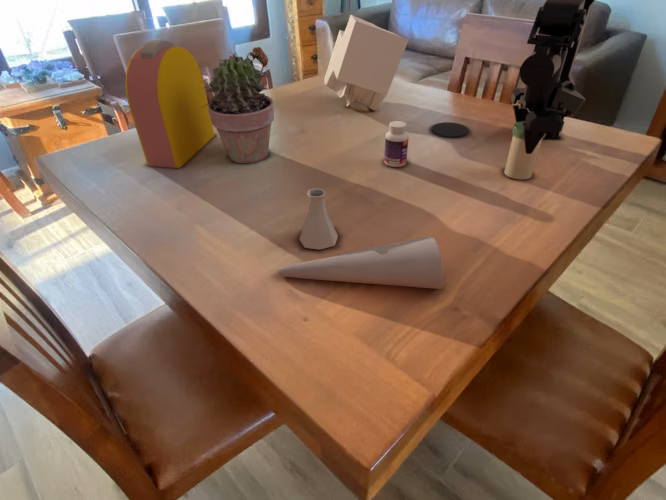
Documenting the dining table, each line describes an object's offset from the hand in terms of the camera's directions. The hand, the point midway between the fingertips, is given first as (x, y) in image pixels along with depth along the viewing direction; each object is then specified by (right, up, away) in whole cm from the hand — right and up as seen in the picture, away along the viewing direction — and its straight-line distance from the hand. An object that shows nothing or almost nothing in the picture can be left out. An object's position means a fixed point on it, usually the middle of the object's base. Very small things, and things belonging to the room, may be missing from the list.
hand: (525, 147), depth 94 cm
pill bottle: (-27, -2, +10) cm, 29 cm away
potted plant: (-65, +1, +15) cm, 67 cm away
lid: (0, +3, -3) cm, 4 cm away
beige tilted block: (-33, +24, +44) cm, 60 cm away
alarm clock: (-82, +4, +19) cm, 85 cm away
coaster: (-10, +11, +25) cm, 29 cm away
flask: (-45, -21, -14) cm, 52 cm away
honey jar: (0, -5, +4) cm, 6 cm away
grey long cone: (-38, -29, -24) cm, 54 cm away
